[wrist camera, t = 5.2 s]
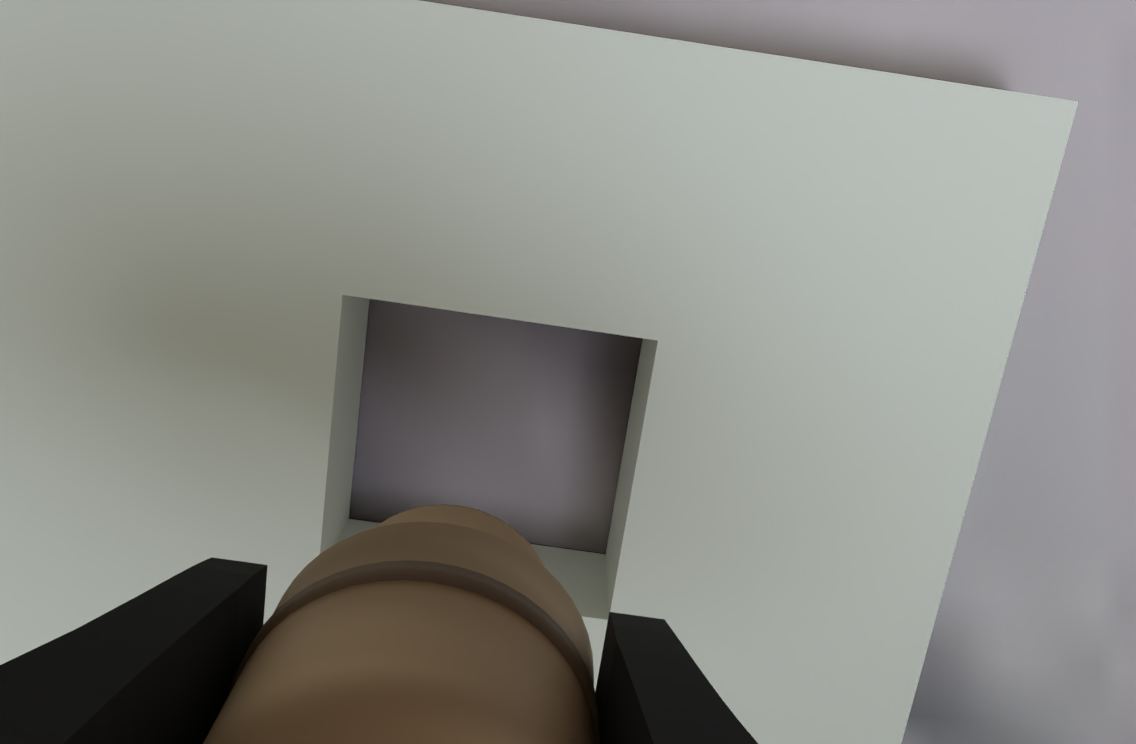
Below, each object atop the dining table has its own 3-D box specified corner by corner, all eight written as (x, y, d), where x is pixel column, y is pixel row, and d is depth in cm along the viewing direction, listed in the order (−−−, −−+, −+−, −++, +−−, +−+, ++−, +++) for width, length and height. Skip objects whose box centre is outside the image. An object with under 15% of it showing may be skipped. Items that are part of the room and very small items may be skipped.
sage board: (1011, 96, 18) (1078, 101, 16) (834, 785, 22) (865, 874, 19) (66, -50, 17) (-15, -67, 15) (60, 682, 21) (-6, 761, 19)
